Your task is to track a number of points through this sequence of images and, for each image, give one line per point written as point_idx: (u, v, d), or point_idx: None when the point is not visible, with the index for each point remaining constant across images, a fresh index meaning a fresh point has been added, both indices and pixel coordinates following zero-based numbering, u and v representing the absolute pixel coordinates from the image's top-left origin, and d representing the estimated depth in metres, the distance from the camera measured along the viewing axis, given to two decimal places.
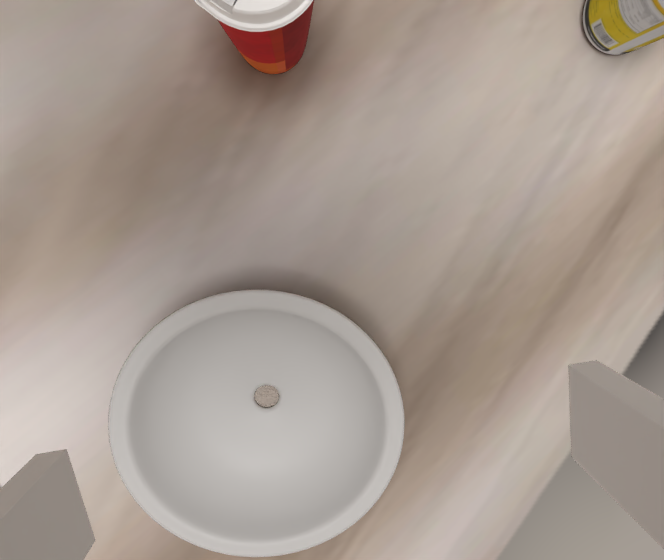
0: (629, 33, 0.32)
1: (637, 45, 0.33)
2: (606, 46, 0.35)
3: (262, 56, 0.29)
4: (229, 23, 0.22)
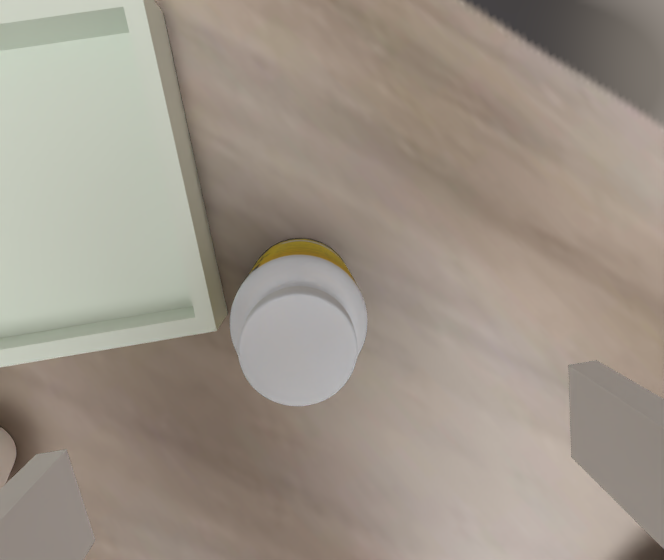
0: None
1: None
2: None
3: None
4: None
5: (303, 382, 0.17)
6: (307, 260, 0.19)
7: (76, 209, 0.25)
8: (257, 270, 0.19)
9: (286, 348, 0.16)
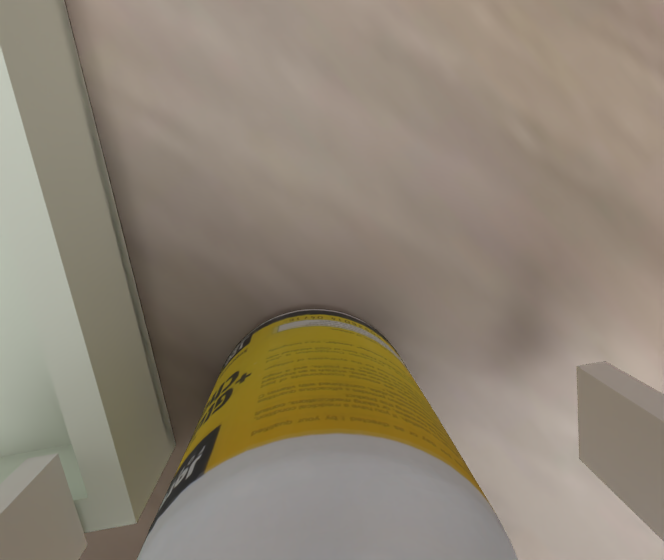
0: None
1: None
2: None
3: None
4: None
5: None
6: (361, 470, 0.06)
7: None
8: (200, 496, 0.06)
9: None
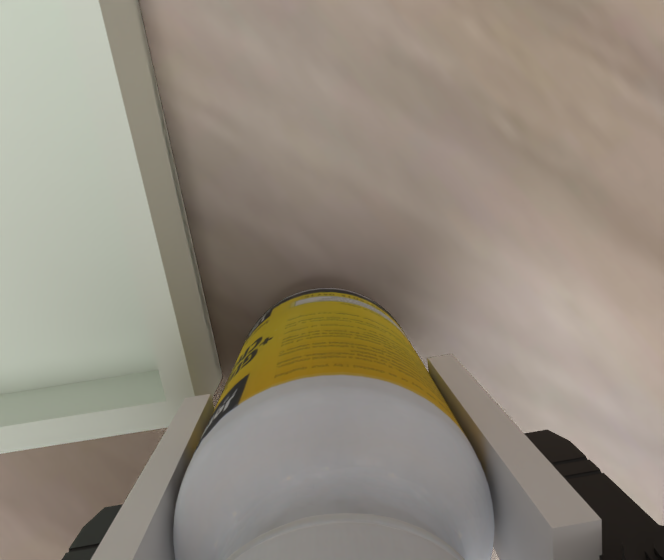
0: None
1: None
2: None
3: None
4: None
5: None
6: (360, 399, 0.07)
7: None
8: (236, 418, 0.08)
9: None
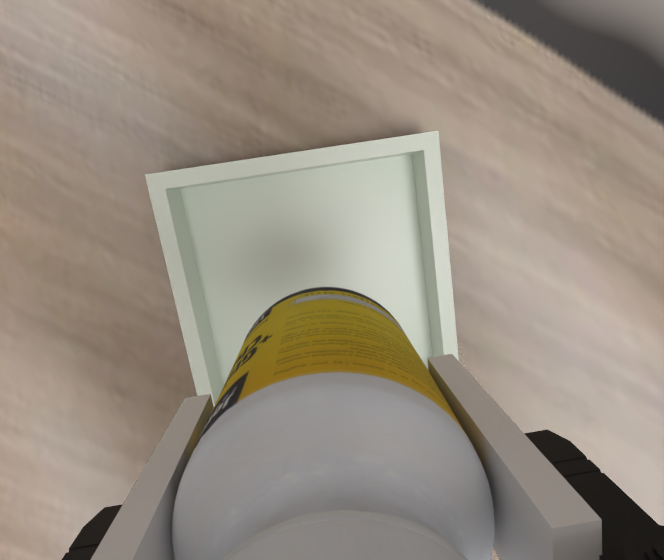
0: None
1: None
2: None
3: None
4: None
5: None
6: (359, 396, 0.07)
7: None
8: (235, 416, 0.08)
9: None
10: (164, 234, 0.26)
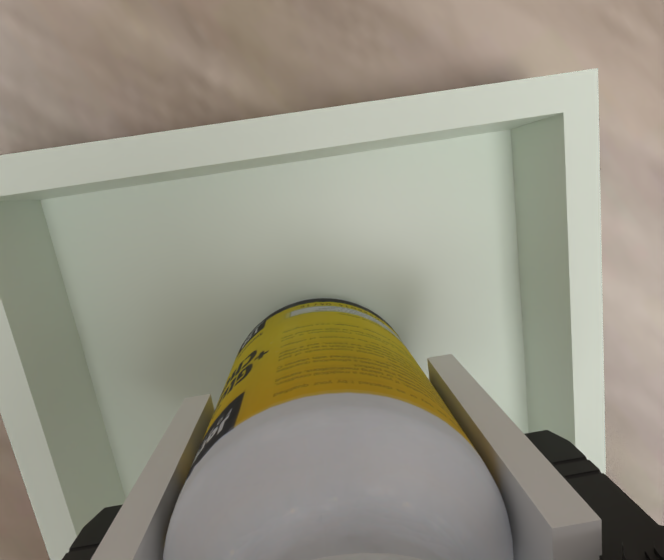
0: None
1: None
2: None
3: None
4: None
5: None
6: (368, 419, 0.07)
7: None
8: (233, 443, 0.07)
9: None
10: None
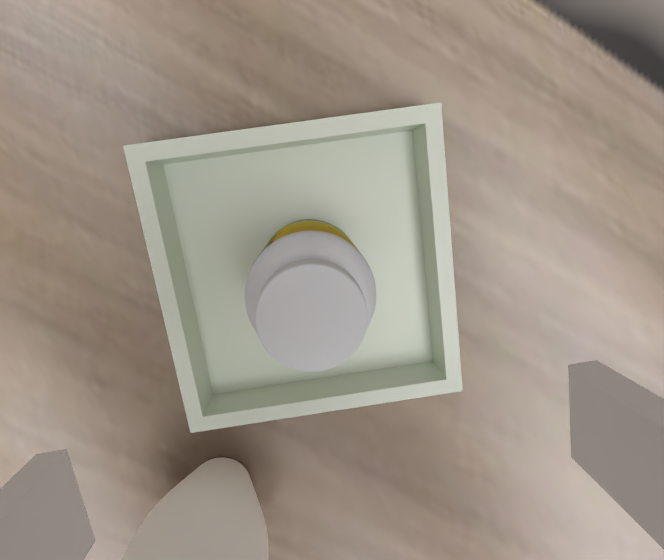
0: None
1: None
2: None
3: None
4: None
5: (316, 348, 0.17)
6: (320, 235, 0.20)
7: None
8: (272, 244, 0.20)
9: (300, 315, 0.17)
10: (144, 211, 0.24)
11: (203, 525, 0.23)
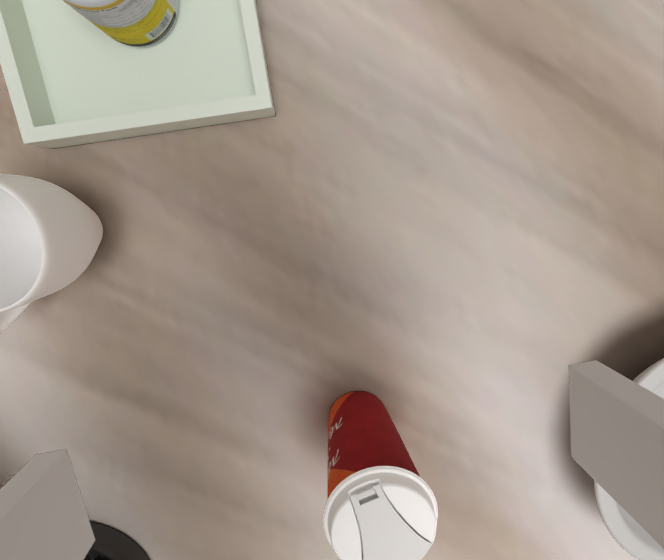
0: (157, 3, 0.28)
1: None
2: (171, 17, 0.31)
3: None
4: None
5: None
6: None
7: None
8: None
9: None
10: None
11: (7, 174, 0.26)
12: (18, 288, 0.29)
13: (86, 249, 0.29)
